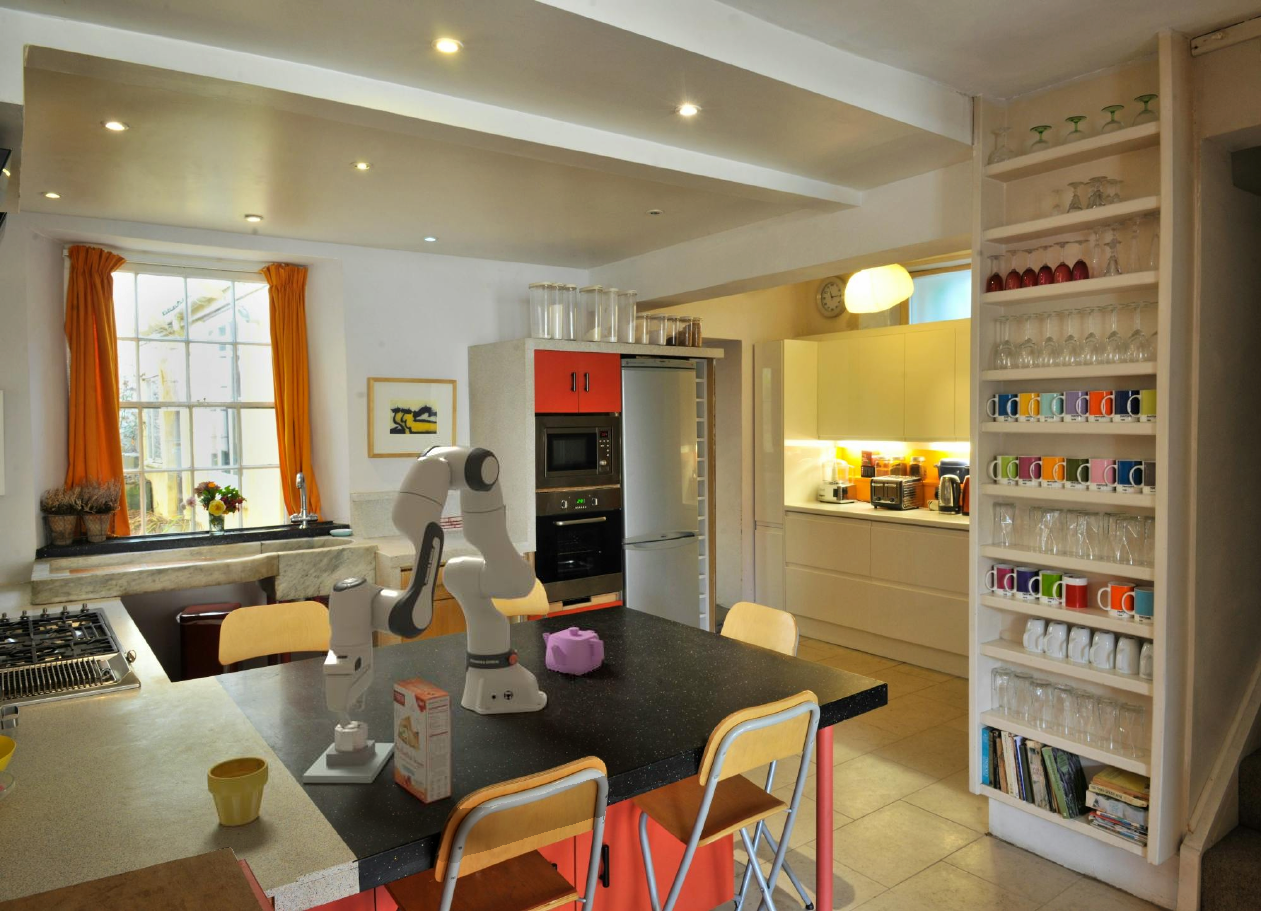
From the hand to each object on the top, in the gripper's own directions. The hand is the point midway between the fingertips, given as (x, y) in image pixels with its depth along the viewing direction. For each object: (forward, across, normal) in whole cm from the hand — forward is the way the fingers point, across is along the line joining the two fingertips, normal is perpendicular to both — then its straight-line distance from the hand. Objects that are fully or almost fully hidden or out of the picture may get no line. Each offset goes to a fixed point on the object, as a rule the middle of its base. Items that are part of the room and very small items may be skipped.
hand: (352, 717), depth 184 cm
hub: (+6, +1, 0) cm, 6 cm away
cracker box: (+10, +13, +18) cm, 24 cm away
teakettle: (+13, -74, +42) cm, 87 cm away
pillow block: (+10, +1, 0) cm, 10 cm away
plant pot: (+10, +26, -13) cm, 31 cm away
